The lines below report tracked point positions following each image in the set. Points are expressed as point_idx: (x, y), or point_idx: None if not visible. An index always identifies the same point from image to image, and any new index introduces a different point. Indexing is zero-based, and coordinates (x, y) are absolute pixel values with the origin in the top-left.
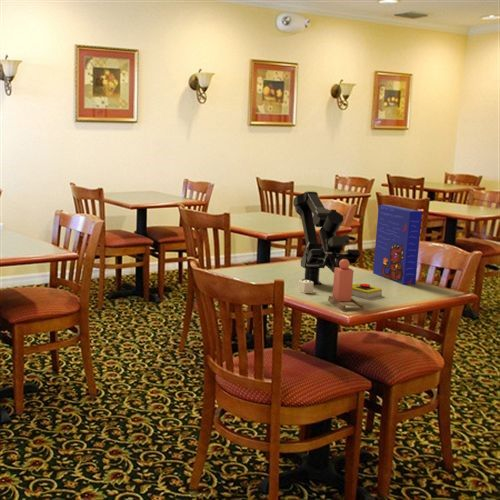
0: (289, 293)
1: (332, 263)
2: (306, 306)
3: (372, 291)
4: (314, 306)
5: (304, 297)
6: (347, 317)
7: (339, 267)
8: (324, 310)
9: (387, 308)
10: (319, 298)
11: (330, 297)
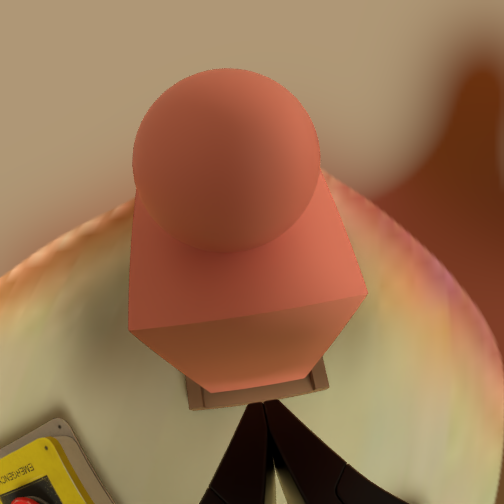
0: (495, 486)
1: (391, 494)
2: (433, 260)
3: (23, 446)
4: (402, 263)
5: (445, 435)
6: None
7: (282, 309)
8: (359, 209)
9: (62, 263)
10: (368, 438)
11: (321, 358)
